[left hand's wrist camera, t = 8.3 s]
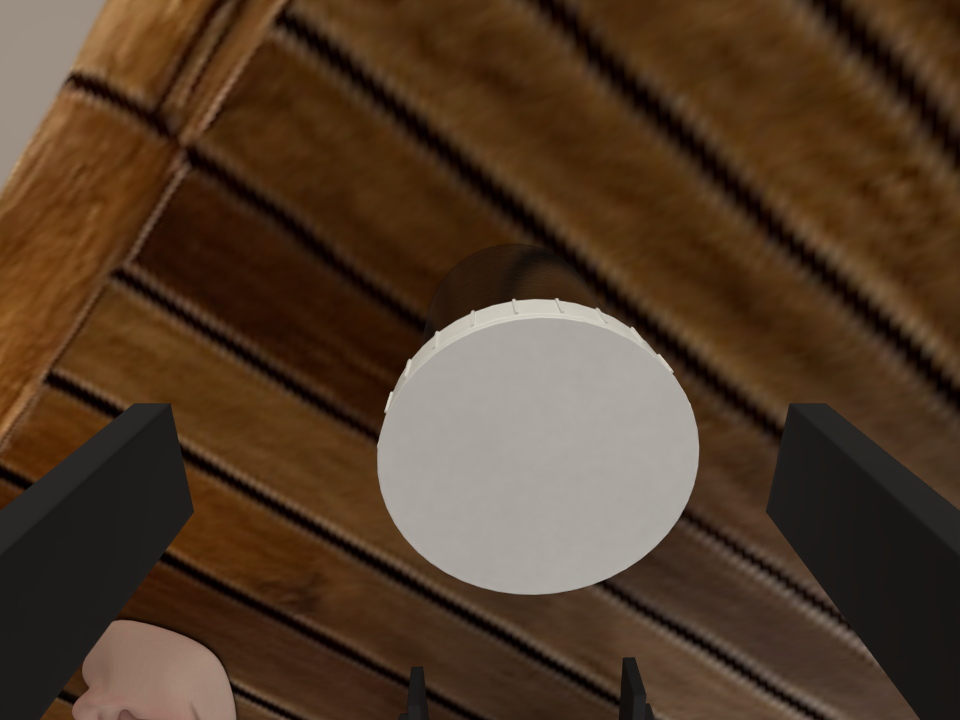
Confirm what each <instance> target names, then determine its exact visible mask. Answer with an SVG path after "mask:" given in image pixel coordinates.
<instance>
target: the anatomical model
mask: <svg viewBox="0 0 960 720" xmlns="http://www.w3.org/2000/svg"><path fill="white" fill-rule="evenodd" d="M82 674H83V678H84V680H85V682H86V684H87V685H88V687H89V690H88V691H87V692H86V693H84V694H83V695H82V696H81V697H80V698H79V699H78V700H77V701H76V703H75V704H74V706H73V709H72V714H73V717H74V718H75V720H236V710H235V704H234V698H233V694H232V690H231V686H230V683H229V680H228V677H227V675H226V672H225V670H224V668H223V666H222V664H221V663H220V661H219V660H218V658H217V657H216V656H215V655H214V654H213V653H212V652H211V651H210V650H208V649H207V648H206V647H204V646H203V645H201V644H200V643H198V642H196V641H194V640H192V639H190V638H188V637H185V636H183V635H181V634H178V633H176V632H173V631H170V630H167V629H163V628H160V627H157V626H153V625H150V624H146V623H141V622H136V621H129V620H119V621H113V622H112V623H111V624H110V626H109V627H108V628H107V630H106V631H105V632H104V634H103V635H102V636H101V638H100V639H99V640H98V642H97V643H96V644H95V646H94V647H93V648H92V650H91V651H90V652H89V654H88V655H87V657H86V658H85V661H84V664H83V668H82Z"/></svg>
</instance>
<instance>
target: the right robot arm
mask: <svg viewBox="0 0 960 720" xmlns="http://www.w3.org/2000/svg"><path fill="white" fill-rule="evenodd" d="M407 709H408V713H406V714H400V716H399V718H398V720H429V716H428V707H427V698H426V689H425V680H424V671H423V667H411V675H410V684H409V694H408V703H407ZM619 720H655V718H654V715H653V711H652V708H651V706H650V704H649V703H646V693H645V689H644V686H643V683H642V680H641V676H640V673H639V670H638V667H637V663H636V660H635V657H631V658H623V665H622V681H621V696H620V711H619Z"/></svg>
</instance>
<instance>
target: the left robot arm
mask: <svg viewBox="0 0 960 720" xmlns="http://www.w3.org/2000/svg"><path fill="white" fill-rule="evenodd" d="M193 512H194V510H193V505H192V500H191V496H190V491H189V487H188V482H187V477H186V473H185V468H184V464H183V459H182V454H181V450H180V445H179V441H178V436H177V431H176V427H175V422H174V418H173V413H172V408H171V404H170V403H134V404H133V405H132V406H131V407H129V408H128V409H127V410H126V411H124V412H123V413H122V414H121V415H119V416H118V417H117V418H116V419H114V420H113V421H112V422H111V423H109V424H108V425H107V426H106V427H104V428H103V429H102V430H101V431H99V432H98V433H97V434H96V435H94V436H93V437H92V438H91V439H89V440H88V441H87V442H86V443H84V444H83V445H82V446H81V447H79V448H78V449H77V450H76V451H74V452H73V453H72V454H71V455H69V456H68V457H67V458H66V459H64V460H63V461H62V462H61V463H59V464H58V465H57V466H56V467H54V468H53V469H52V470H51V471H49V472H48V473H47V474H46V475H44V476H43V477H42V478H41V479H39V480H38V481H37V482H36V483H34V484H33V485H32V486H31V487H29V488H28V489H27V490H26V491H24V492H23V493H22V494H21V495H19V496H18V497H17V498H16V499H14V500H13V501H12V502H11V503H9V504H8V505H7V506H6V507H4V508H3V509H2V510H1V511H0V720H40V718H41V717H42V716H43V714H44V713H45V712H46V710H47V709H48V708H49V706H50V705H51V704H52V702H53V701H54V700H55V698H56V697H57V696H58V694H59V693H60V692H61V690H62V689H63V688H64V686H65V685H66V683H67V682H68V681H69V679H70V678H71V677H72V675H73V674H74V673H75V671H76V670H77V669H78V667H79V666H80V665H81V663H82V662H83V661H84V659H85V658H86V657H87V655H88V654H89V652H90V651H91V650H92V648H93V647H94V646H95V644H96V643H97V642H98V640H99V639H100V638H101V636H102V635H103V634H104V632H105V631H106V630H107V628H108V627H109V626H110V624H111V623H112V622H113V620H114V619H115V617H116V616H117V615H118V613H119V612H120V611H121V609H122V608H123V607H124V605H125V604H126V603H127V601H128V600H129V599H130V597H131V596H132V595H133V593H134V592H135V591H136V589H137V588H138V586H139V585H140V584H141V582H142V581H143V580H144V578H145V577H146V576H147V574H148V573H149V572H150V570H151V569H152V568H153V566H154V565H155V564H156V562H157V561H158V560H159V558H160V557H161V556H162V554H163V553H164V551H165V550H166V549H167V547H168V546H169V545H170V543H171V542H172V541H173V539H174V538H175V537H176V535H177V534H178V533H179V531H180V530H181V529H182V527H183V526H184V525H185V523H186V522H187V521H188V519H189V518H190V516H191V515H192V514H193ZM766 512H767V514H768V515H769V516H770V518H771V519H772V521H773V522H774V523H775V525H776V526H777V527H778V529H779V530H780V531H781V533H782V534H783V535H784V537H785V538H786V539H787V541H788V542H789V543H790V545H791V546H792V547H793V549H794V550H795V551H796V553H797V554H798V556H799V557H800V558H801V560H802V561H803V562H804V564H805V565H806V566H807V568H808V569H809V570H810V572H811V573H812V574H813V576H814V577H815V578H816V580H817V581H818V582H819V584H820V585H821V586H822V588H823V589H824V591H825V592H826V593H827V595H828V596H829V597H830V599H831V600H832V601H833V603H834V604H835V605H836V607H837V608H838V609H839V611H840V612H841V613H842V615H843V616H844V617H845V619H846V620H847V622H848V623H849V624H850V626H851V627H852V628H853V630H854V631H855V632H856V634H857V635H858V636H859V638H860V639H861V640H862V642H863V643H864V644H865V646H866V647H867V648H868V650H869V651H870V652H871V654H872V655H873V657H874V658H875V659H876V661H877V662H878V663H879V665H880V666H881V667H882V669H883V670H884V671H885V673H886V674H887V675H888V677H889V678H890V679H891V681H892V682H893V683H894V685H895V686H896V688H897V689H898V690H899V692H900V693H901V694H902V696H903V697H904V698H905V700H906V701H907V702H908V704H909V705H910V706H911V708H912V709H913V710H914V712H915V713H916V714H917V716H918V717H919V718H920V720H960V511H959V510H958V509H957V508H956V507H954V506H953V505H952V504H951V503H949V502H948V501H947V500H946V499H944V498H943V497H942V496H941V495H939V494H938V493H937V492H936V491H934V490H933V489H932V488H931V487H929V486H928V485H927V484H926V483H924V482H923V481H922V480H921V479H919V478H918V477H917V476H916V475H914V474H913V473H912V472H911V471H909V470H908V469H907V468H906V467H904V466H903V465H902V464H901V463H899V462H898V461H897V460H896V459H894V458H893V457H892V456H891V455H889V454H888V453H887V452H886V451H884V450H883V449H882V448H881V447H879V446H878V445H877V444H876V443H874V442H873V441H872V440H871V439H869V438H868V437H867V436H866V435H864V434H863V433H862V432H861V431H859V430H858V429H857V428H856V427H854V426H853V425H852V424H851V423H849V422H848V421H847V420H846V419H844V418H843V417H842V416H841V415H839V414H838V413H837V412H836V411H834V410H833V409H832V408H831V407H829V406H828V405H827V404H826V403H790V404H789V408H788V413H787V418H786V422H785V427H784V431H783V436H782V441H781V445H780V450H779V454H778V459H777V464H776V468H775V473H774V477H773V482H772V487H771V491H770V496H769V500H768V505H767V510H766Z"/></svg>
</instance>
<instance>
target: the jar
mask: <svg viewBox="0 0 960 720" xmlns="http://www.w3.org/2000/svg"><path fill="white" fill-rule="evenodd" d="M555 298H558V299H559V301H564V302H570V303H576V304H579V305H583V306H586V307H589V308H592V309H596V308H599V309H600V311H601V312H602V313H604V314H607V313H606V311H605V310H604V308H603V307H602V305H601V304H600V303H599V301H598V300H597V298H596V297H595V296H594V294H593V293H592V291H591V290H590V288H589V287H588V286H587V284H586V283H585V281H584V280H583V278H582V277H581V276H580V275H579V273H578V272H577V271H576V270H575V269H574V268H573V267H572V266H571V265H570V264H569V263H567V262H566V261H565V260H563V259H562V258H560V257H559V256H557V255H556V254H554V253H551V252H549V251H547V250H545V249H542V248H538V247H535V246H530V245H524V244H505V245H498V246H493V247H489V248H486V249H483V250H481V251H478V252H476V253H474V254H472V255H470V256H468V257H467V258H465V259H464V260H463V261H461V262H460V263H458V264H457V265H456V266H455V267H454V268H453V269H452V270H451V271H450V272H449V273H448V274H447V275H446V277H445V278H444V279H443V280H442V282H441V284H440V285H439V287H438V288H437V290H436V293H435V295H434V297H433V300H432V303H431V306H430V310H429V314H428V318H427V322H426V326H425V330H424V334H423V338H422V342H421V346H420V349H421V348H422V347H423V346H424V345H425V344H426V343H427V342H428V341H429V340H430V339H432V338H433V337H434V336H435V332H437V331H438V332H440V331H441V330H443V329H444V328H446V327H447V326H449V325H450V324H452V323H453V322H455V321H457V320H459V319H461V318H463V317H465V316H467V315H469V314H471V311H473V310H474V312H476V311H479V310H481V309H484V308H487V307H490V306H493V305H497V304H502V303H507V302H512V299H515V300H516V301H520V300H532V299H542V300H555ZM607 315H608V314H607Z"/></svg>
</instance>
